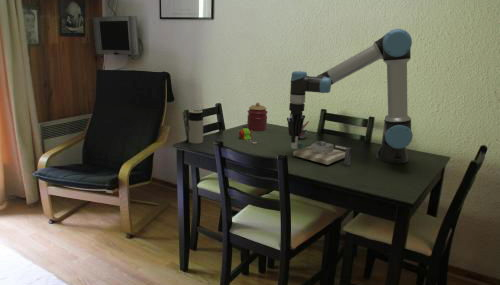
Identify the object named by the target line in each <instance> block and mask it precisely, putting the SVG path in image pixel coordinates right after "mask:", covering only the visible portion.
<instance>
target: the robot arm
mask: <svg viewBox="0 0 500 285" xmlns="http://www.w3.org/2000/svg"><path fill="white" fill-rule="evenodd" d="M412 44H413V39H412V36H411V34H410V33H409V32H408V31H407V30H406V29H402V28H393V29H391V30H389V31H388V32H386V34H384V35H383V36H382V37H381V38H379V39H377V40H376V41H373V44H372V45H370V46H369V47H367V48H365V49H364V50H362V51H359V52H357V53H355V55H353V56H351V57H349V58H348V59H346V60H344V61H342V62H340V63H339V64H336V65H335V66H333V67H330V68H329V69H328V70H326V71H324V72H322V73H320V74H317V75H316V76H309V75H308V73H307V71H302V70H301V71H300V70H299V71H298V70H297V71H295V70H294V71H293V72H292V73H291V77H290V91H289V92H290V93H289V102H290V103H289V107H288V110H289V111H290V114H289V117H287V118H286V121H287V126H288V128H287V129H288V135H289V136H291V141H290V142H291V145H290V148H291V149H294V150H297V143H299V137H298V136H300V135H299V134H301V131H302V126H303V125H304V122H305V118H306V115H304V111H305V106H306V105H305V103H306V93H307V92H308V93H309V92H310V93H320V94H328V93H329V94H330V93H331V88H332V86H333V85H334V84H336V83H337V82H340V81H341V80H343V79H346V78H347V77H349V76H351V75H353V74H355V73H356V72H358V71H360V70H362V69H364V68H366V67H367V66H369V65H372V64H373V63H375V62H377V61H379V60H382V61H383V62H384V63H385V64H386V80H387V81H386V82H387V84H386V85H387V89H386V90H387V114H386V115H385V116H384V120H383V129H382V139H381V144H380V146H379V148H378V150H377V153H376V156H375V157H376V159H377V160H378V161H381V162H384V163H388V164H397V165H398V164H399V165H400V164H406V163H408V159H409V157H408V152H407V147H408V146H409V145H410V144H411V142H412V140H413V135H414V134H413V132H412V118H411V117H410V116H409V115H408V114H409V113H408V63H409V61H410V60H411V54H412V53H411V51H412V50H411V48H412Z"/></svg>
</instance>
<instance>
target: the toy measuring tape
mask: <svg viewBox="0 0 500 285" xmlns="http://www.w3.org/2000/svg"><path fill="white" fill-rule="evenodd" d="M238 136H239V138H241V139H242V140H243V141H245V140H246V141H247V142H248V140H250V141H252V138H251V136H252V131H251V130H249V129H247V127H245V128H241V129H240V130H239V133H238ZM257 144H258V142H257V141H255V142H254V141H252V145H257Z"/></svg>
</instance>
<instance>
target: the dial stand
mask: <svg viewBox="0 0 500 285" xmlns="http://www.w3.org/2000/svg"><path fill="white" fill-rule="evenodd" d="M335 148H338V149H342V150H345V151H344V152H345V158H344V164H343V165H344V166H347V167H348V166H350V165H351V157H352V156H351V155H352V148H350V147H345V146H341V145H335Z"/></svg>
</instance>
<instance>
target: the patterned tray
mask: <svg viewBox="0 0 500 285" xmlns="http://www.w3.org/2000/svg"><path fill="white" fill-rule="evenodd" d="M292 156H294V157H297V158H302V159H304V160H310V161H312V162H317V163H321V164H323V165H330V164H333V163H335V162H337V161H340V160H342V159H343V160H344V159H345V151H343V150H340V149H334V148H333V152H332V153H329V154H326V155H322V154H318V153H314V152H311V145H309V146H307V143H304V142H300V141H298V143H297V149H296V150H293V153H292Z"/></svg>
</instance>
